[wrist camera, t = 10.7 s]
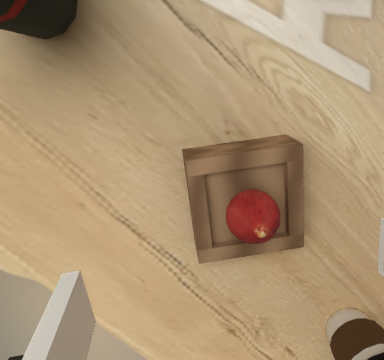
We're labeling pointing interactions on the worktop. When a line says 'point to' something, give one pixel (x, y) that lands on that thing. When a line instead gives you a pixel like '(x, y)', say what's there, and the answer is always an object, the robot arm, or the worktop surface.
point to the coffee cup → (354, 336)
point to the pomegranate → (253, 216)
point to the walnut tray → (240, 181)
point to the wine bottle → (37, 16)
